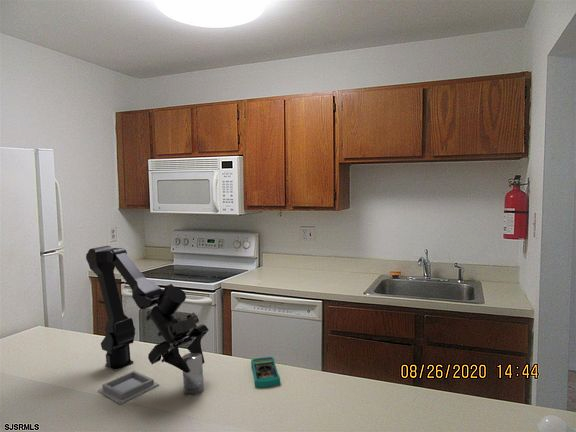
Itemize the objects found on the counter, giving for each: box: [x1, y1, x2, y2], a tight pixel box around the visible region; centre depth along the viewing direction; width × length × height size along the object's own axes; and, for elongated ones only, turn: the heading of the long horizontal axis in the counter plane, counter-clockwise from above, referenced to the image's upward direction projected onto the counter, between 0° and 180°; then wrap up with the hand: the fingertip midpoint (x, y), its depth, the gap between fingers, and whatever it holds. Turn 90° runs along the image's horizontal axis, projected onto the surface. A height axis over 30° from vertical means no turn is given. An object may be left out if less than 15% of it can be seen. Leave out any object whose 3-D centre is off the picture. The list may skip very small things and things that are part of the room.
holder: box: [97, 370, 160, 405], centre depth 119 cm, size 12×12×2 cm
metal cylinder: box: [181, 352, 205, 397], centre depth 116 cm, size 6×6×10 cm
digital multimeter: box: [250, 356, 281, 388], centre depth 124 cm, size 7×15×3 cm, turn 10°
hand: (196, 367), depth 115 cm, fingers closed on metal cylinder, 5 cm apart
